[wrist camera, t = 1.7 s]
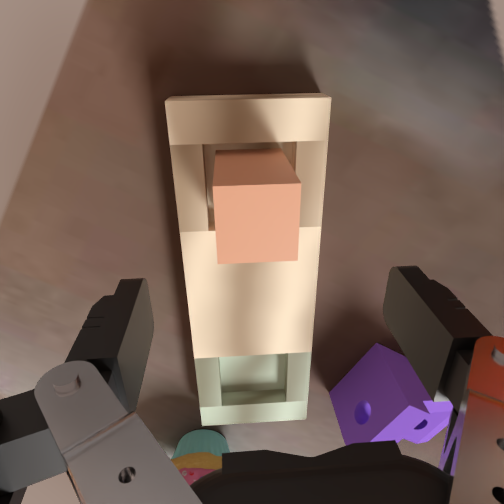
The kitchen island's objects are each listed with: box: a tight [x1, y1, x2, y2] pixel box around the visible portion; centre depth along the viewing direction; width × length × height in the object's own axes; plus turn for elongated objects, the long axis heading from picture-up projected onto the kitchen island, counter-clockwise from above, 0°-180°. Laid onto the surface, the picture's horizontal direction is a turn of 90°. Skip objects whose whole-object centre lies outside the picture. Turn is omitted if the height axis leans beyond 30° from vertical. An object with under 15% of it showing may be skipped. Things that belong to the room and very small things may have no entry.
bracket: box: [329, 343, 453, 446], centre depth 33 cm, size 12×7×7 cm, turn 59°
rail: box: [165, 93, 331, 426], centre depth 28 cm, size 9×26×2 cm, turn 1°
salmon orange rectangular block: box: [212, 148, 301, 264], centre depth 21 cm, size 4×4×7 cm
